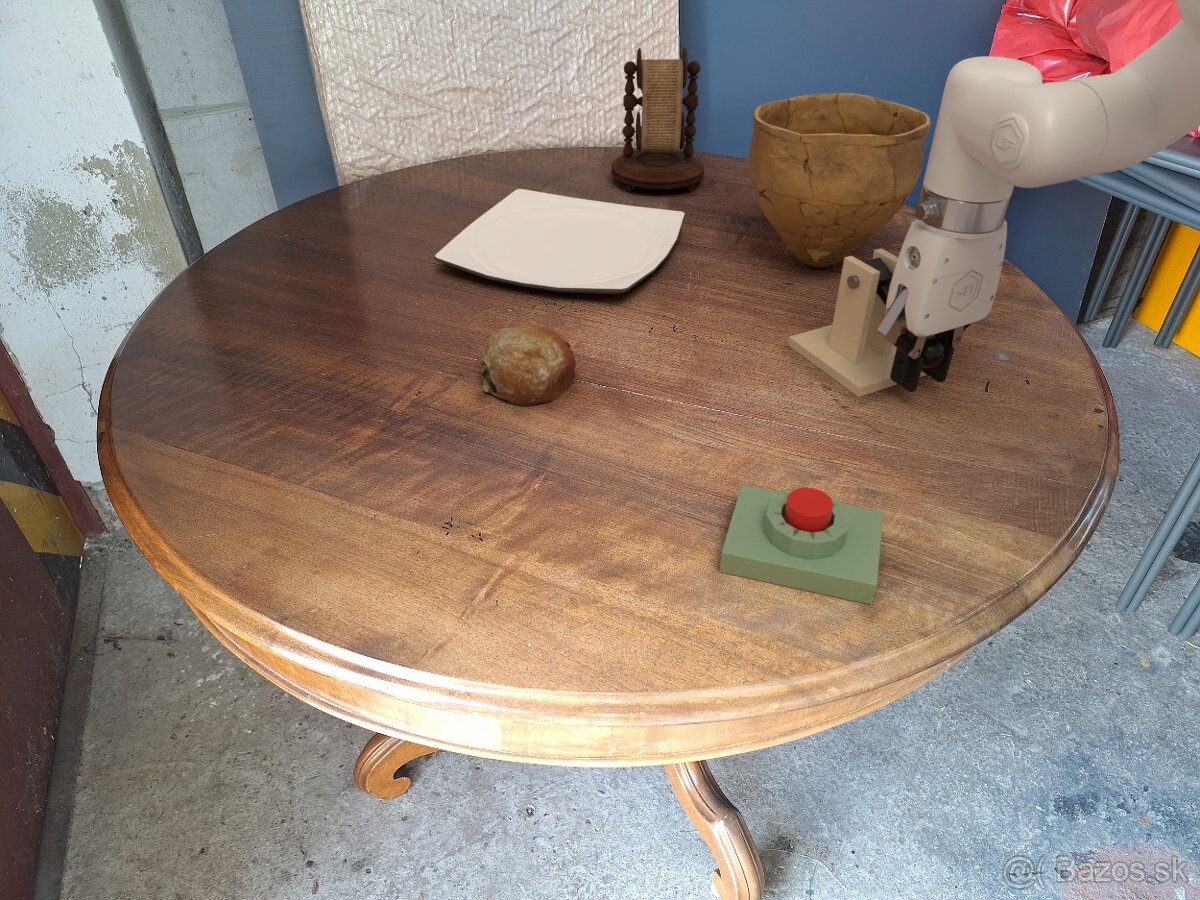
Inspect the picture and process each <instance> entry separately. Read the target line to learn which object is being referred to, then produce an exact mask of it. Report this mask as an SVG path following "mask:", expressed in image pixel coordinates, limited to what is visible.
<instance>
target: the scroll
mask: <svg viewBox="0 0 1200 900" xmlns="http://www.w3.org/2000/svg"><path fill="white" fill-rule="evenodd" d="M636 50H637V51H636V63H635V62H634V61H631V60H629V61H627V62H625V64H624V65H623V72H624V73H625V76H624V79H625V80H626V82H625V85H624V92H625V94H624V95H623V98H622V105H623V108H624V111H625V115H624V119H623V123H624V124H625V125H624V126H623V128H622V131H621V132H622V135H623V137H624V139H623V143H625V144H624V146H623V150H622V154H621V155H620V156H618V157H616V158H615V159H614V160H613V161H612V162H611V165H610V166H611V168H610V169H611V170H610V174H611V175H612V177H613V178H614V180H617V181H618V182H620V183H623V184H624V185H625V188H626V190H627V192H628V193H632V192H633V189H634V187H635V188H641V189H647V190H648V189H651V190H671V189H681V188H684V187H686V189H687V192H689V193H692V191H693V190H694V187H695V184H697V183H699V182H700V181H702V179H703V178H704V176H705V164H704V163H703V162H702V161H701V160H700V159H698V158H697V157H695V156H694V153H695V149H694V145H693V142H694V141H695V138H694V137H695V135H696V133H697V128H696V126H695V123H696V115H695V111H696V110H697V108H698V105H699V95H698V94H697V92H698V89H699V88H698V83H697V80H698V79H699V78H700V77H699V75H698V74H699V73H700V71H701V63H699V62H698V61H697V60H692V61H690V62H689V61H688V59H689V58H688V57H689V56H688V49H687V48H686V46H685V47H683V48H682V51H681V58H674V59H673V58H671V59H670V58H669V59H668V58H666V59H664V58H662V59H661V58H659V59H658V58H657V59H656V58H655V59H654V58H653V59H651V58H650V59H645V58H644V59H643V58H642V48H641V47H638V48H637V49H636ZM688 62H689V63H688ZM688 74H689V75H688ZM635 75H636V76H635ZM635 79H636V87H635V83H634V80H635ZM688 79H689V82H688V85H687V81H688ZM686 86H687V94H686V95H685V96H684V97H683V92H684V91H683V89H685V88H686ZM635 88H638V89H639V90H640V91H641V94H642V95H641V96H639V97H637V96H636V95H635V90H636V89H635ZM637 106H640V107H641V112H640V111H637V112H636V116H635V118H634V114H633V112H634V111H635V108H636V107H637ZM683 106H684V107H686V108H685V110H686V111H687V113H686V117H685V113H684V112H683V111H682V109H683ZM634 122H635V126H633V124H634ZM634 136H635V148H636V149H634V146H633V142H634V138H633V137H634Z"/></svg>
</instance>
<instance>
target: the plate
mask: <svg viewBox="0 0 1200 900" xmlns="http://www.w3.org/2000/svg"><path fill="white" fill-rule="evenodd" d="M685 217H686V213H685V212H683V211H680V210H671V209H663V208H654V207H645V206H636V205H627V204H620V203H614V202H606V201H598V200H593V199H592V200H591V199H585V198H580V197H579V198H578V197H571V196H566V195H560V194H554V193H547V192H542V191H535V190H530V189H524V188H518V189H515V190H514V191H512V192H511V193H510V194H508V195H507V196H506V197H505V198H503V199H502V200H500V201H499V202H498V203H497V204H495V205H494V206H492V207H490V209H488V210H487V211H486V212H484V213H483V214H482V215H480V216H479V217H478V218H477V219H475V220H474V221H473V222H471V223H470V224H469V225H467V227H465V228H464V229H463V230H462V231H461V232H460V233H458V234H457V235H456V236H455V237H454V238H452V239H451V240H450V241H449V242H448V243H447V244H446V245H445V246H444V247H442V248H441V249H440V250H439V251H438V252H437V253H436V254H435V255H434V259H435V261H437V262H439V263H441V264H443V265H445V266H448V267H452V268H454V269H457V270H460V271H463V272H466V273H469V274H471V275H474V276H477V277H481V278H484V279H486V280H490V281H495V282H499V283H504V284H509V285H513V286H520V287H524V288H531V289H536V290H537V289H538V290H543V291H551V292H557V293H574V294H575V293H576V294H600V295H601V294H603V295H620V294H624V293H626V292H628V291H630V289H632V288H633V287H635V286H636V285H638V284H639V283H641V282H642V281H643V280H644V279H646V278H647V277H649V276H650V275H652V274H653V273H654V272H655V271H656V270H657V269H658V268H659V267H660V266H661V265H662V263H664V261H666V260H667V258H668V257H669V255H670V253H671V252H672V250H673V249H674V247H675V246H676V244H677V242H678V239H679V235H680V232H681V229H682V226H683V224H684V220H685Z"/></svg>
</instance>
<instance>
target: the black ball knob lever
mask: <svg viewBox="0 0 1200 900" xmlns="http://www.w3.org/2000/svg"><path fill="white" fill-rule="evenodd" d="M863 262H864V263H865V264H867V265H869V266H871V267H872V268H874V269H876V270H878V271H880V276H879V281H878V286H877V291H876V294H878V295H879V297H880V298H881V300H882V301H883V303H884V304H885V305H886V303H887V297H888V292H889V288H890V286H889V284H890V283H891V280H892V276H893V274H892V273H891V271H890V270H889V269H888V267H887V266H886V264H885V263H884V262H883V260H882V259H881V258H880V257H879V258H875V259H873V258H870V259H867V260H864V261H863ZM908 336H909V337H910V338H911V340H912V341H913V338H914V334H913V333H912V332H911V331H909V334H908ZM933 336H934V335H933ZM933 336H927V338H926V341H925V344H924V347H923V350H922V353H921V356H922V357H923V358H924V363H923V366H922V367H923V368H931V367H934V366H936V365H938V364H939V363H940V362H941V361H942V359H943V357H944V353H945V349H944V346H943V344H942V342H941V341H940V340H939V339H938V338H936V337H933Z"/></svg>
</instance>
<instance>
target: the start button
mask: <svg viewBox="0 0 1200 900" xmlns="http://www.w3.org/2000/svg"><path fill="white" fill-rule="evenodd" d="M795 489H796V490H794V489H793V490H794V491H792V492H791V493H790V494H789V495H788V498H787V503H786V509H785V519H786V521H787V523H788V524H789V525H791V526H792V527H794V528H796V529H797V530H801V531H806V532H811V533H813V532H820V531H823V530H825V529H826V528H827V527H828V526H829V524H830V520H831V515H832V510H833V501H832V499H831V498H830V497H831V496H830V495H828V493H826V492H825V491H823V490H820V489H817V488H813V487H799V488H795ZM829 496H830V497H829Z"/></svg>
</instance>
